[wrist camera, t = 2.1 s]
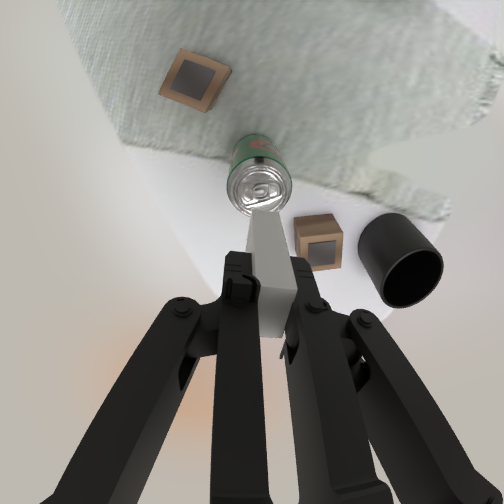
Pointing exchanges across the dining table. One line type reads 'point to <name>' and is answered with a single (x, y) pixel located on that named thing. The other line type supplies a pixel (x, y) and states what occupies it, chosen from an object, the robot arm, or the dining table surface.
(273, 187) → the soda can
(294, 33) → the dining table surface
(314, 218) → the walnut block
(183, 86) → the walnut block
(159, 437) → the robot arm
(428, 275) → the mug
